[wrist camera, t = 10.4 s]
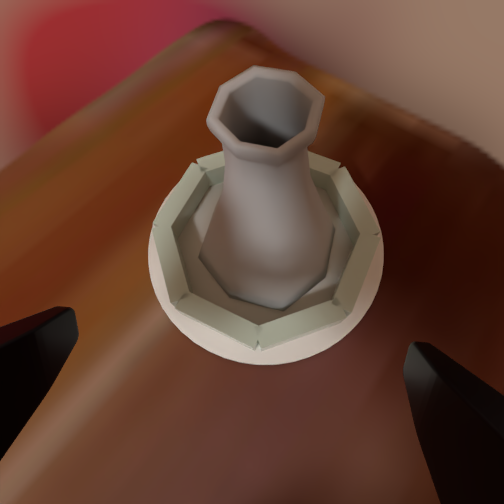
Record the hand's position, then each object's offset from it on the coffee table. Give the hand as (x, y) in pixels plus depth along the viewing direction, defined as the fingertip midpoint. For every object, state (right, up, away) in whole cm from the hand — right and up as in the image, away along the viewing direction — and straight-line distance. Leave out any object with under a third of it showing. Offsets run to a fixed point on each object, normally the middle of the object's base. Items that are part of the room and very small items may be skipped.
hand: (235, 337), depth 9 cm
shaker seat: (+1, +3, +10) cm, 11 cm away
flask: (+1, +3, +10) cm, 10 cm away
